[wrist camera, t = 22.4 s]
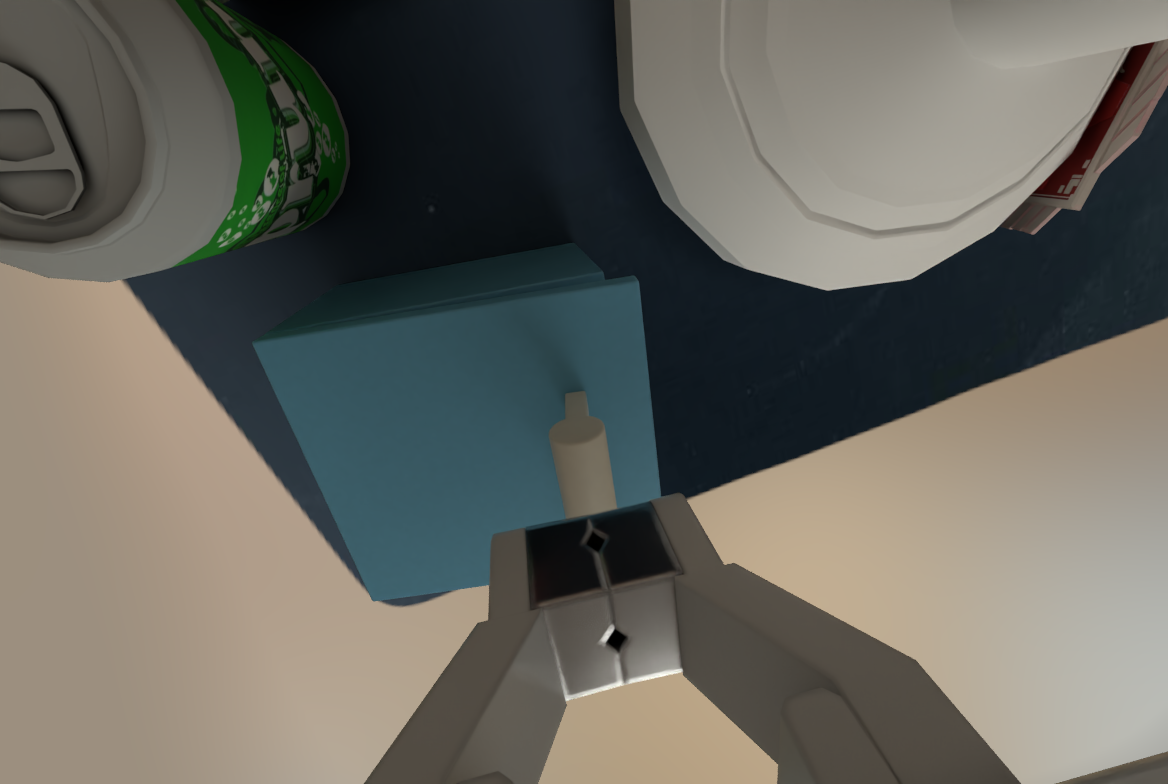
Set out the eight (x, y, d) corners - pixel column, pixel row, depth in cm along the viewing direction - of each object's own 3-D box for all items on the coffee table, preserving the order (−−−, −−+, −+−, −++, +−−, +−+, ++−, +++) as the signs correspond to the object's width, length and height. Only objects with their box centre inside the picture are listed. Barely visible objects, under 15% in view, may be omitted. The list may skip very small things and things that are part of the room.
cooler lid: (635, 274, 16) (660, 312, 12) (664, 546, 20) (688, 639, 16) (264, 333, 16) (164, 391, 12) (378, 587, 21) (335, 688, 17)
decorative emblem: (989, 281, 25) (1006, 133, 28) (998, 283, 25) (1014, 134, 27) (1197, 88, 15) (1190, -110, 18) (1213, 90, 15) (1204, -110, 18)
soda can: (195, 238, 21) (-125, 305, 10) (120, 27, 18) (-444, -188, 7) (375, 228, 22) (251, 280, 11) (333, 25, 19) (108, -169, 8)
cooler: (574, 242, 24) (603, 270, 17) (605, 441, 29) (637, 528, 22) (336, 285, 23) (263, 333, 16) (409, 482, 28) (377, 586, 21)
